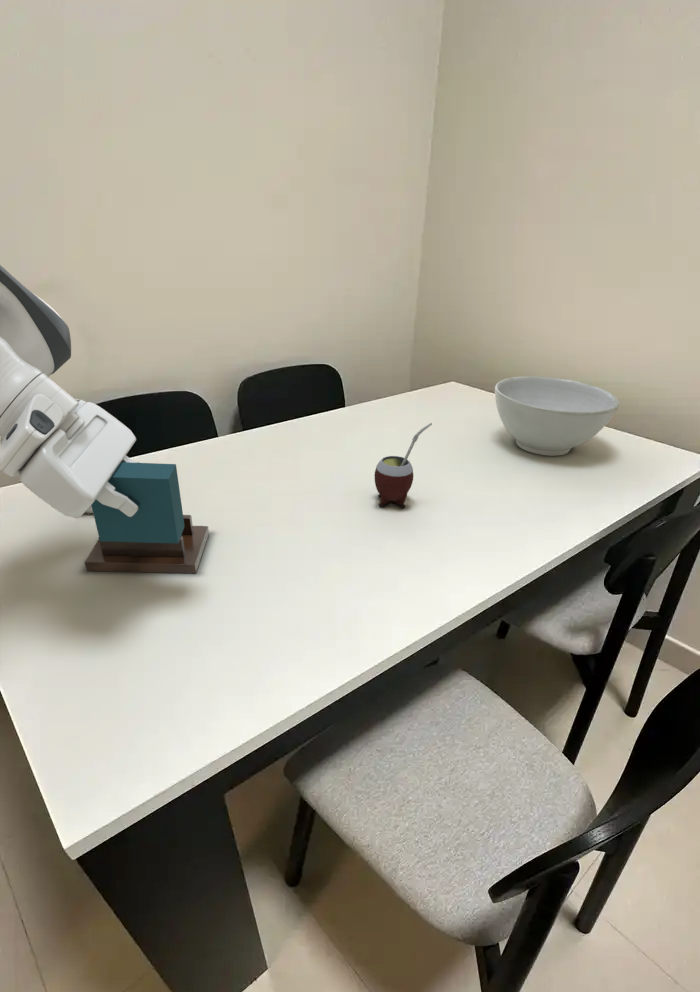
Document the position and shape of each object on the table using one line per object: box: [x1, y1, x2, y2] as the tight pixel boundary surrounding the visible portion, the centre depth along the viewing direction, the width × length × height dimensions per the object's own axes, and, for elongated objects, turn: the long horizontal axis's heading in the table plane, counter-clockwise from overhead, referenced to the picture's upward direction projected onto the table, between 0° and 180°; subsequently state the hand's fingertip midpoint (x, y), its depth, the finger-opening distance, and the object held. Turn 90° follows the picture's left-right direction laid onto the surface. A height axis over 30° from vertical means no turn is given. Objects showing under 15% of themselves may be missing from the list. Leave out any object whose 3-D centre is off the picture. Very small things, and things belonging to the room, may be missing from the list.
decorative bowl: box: [494, 375, 620, 457], centre depth 132 cm, size 27×27×12 cm
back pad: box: [91, 462, 185, 543], centre depth 74 cm, size 10×4×9 cm, turn 92°
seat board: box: [84, 514, 210, 574], centre depth 89 cm, size 16×12×4 cm
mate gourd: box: [373, 422, 433, 509], centre depth 104 cm, size 8×8×15 cm
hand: (141, 500), depth 74 cm, fingers closed on back pad, 4 cm apart
